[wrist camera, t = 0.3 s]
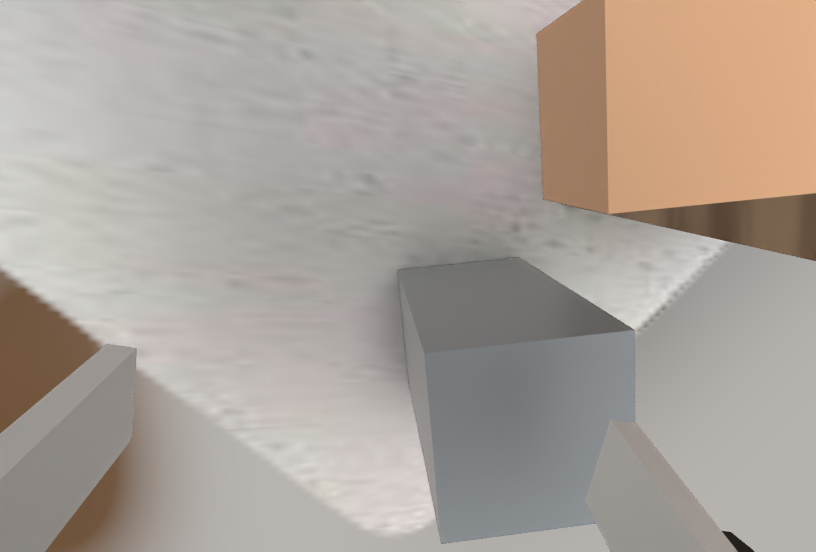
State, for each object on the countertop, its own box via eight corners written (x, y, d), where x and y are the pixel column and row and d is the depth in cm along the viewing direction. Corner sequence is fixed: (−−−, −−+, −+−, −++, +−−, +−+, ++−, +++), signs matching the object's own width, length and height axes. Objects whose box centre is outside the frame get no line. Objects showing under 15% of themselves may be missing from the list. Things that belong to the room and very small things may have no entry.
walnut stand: (560, 203, 42) (935, 287, 14) (555, 59, 40) (982, -160, 12) (692, 190, 42) (1293, 248, 15) (694, 47, 40) (1394, -187, 13)
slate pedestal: (408, 384, 44) (441, 543, 26) (397, 269, 42) (424, 353, 24) (524, 371, 44) (636, 518, 26) (518, 257, 42) (634, 329, 24)
